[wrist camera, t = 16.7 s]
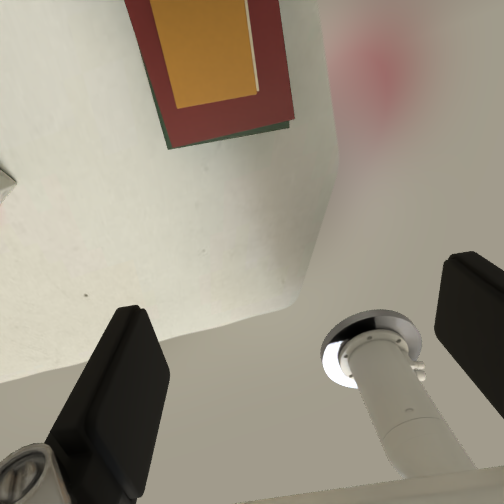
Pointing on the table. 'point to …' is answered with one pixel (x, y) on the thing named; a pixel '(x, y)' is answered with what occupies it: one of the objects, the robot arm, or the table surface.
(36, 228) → the table surface
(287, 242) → the table surface
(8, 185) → the ink box
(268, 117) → the book stack
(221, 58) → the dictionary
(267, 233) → the table surface
